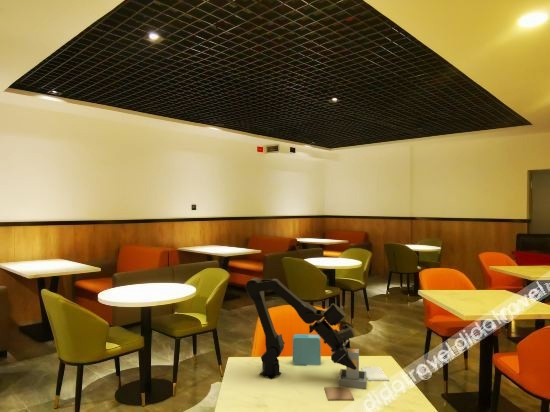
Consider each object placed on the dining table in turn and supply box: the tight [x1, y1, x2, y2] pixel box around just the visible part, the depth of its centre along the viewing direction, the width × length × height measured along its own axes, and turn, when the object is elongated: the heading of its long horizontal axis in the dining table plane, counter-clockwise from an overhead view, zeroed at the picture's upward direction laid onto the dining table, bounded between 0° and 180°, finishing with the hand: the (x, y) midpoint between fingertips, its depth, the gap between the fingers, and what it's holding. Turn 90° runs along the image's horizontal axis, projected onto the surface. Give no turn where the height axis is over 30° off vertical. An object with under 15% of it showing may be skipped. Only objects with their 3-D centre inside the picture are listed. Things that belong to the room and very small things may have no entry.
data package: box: [292, 333, 322, 367], centre depth 169 cm, size 12×4×12 cm, turn 86°
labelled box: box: [345, 347, 360, 380], centre depth 149 cm, size 4×5×12 cm
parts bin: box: [337, 368, 367, 390], centre depth 149 cm, size 10×10×3 cm
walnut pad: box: [323, 386, 355, 402], centre depth 139 cm, size 9×9×1 cm
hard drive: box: [360, 366, 390, 382], centre depth 156 cm, size 2×8×12 cm
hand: (356, 364), depth 149 cm, fingers open, 9 cm apart
